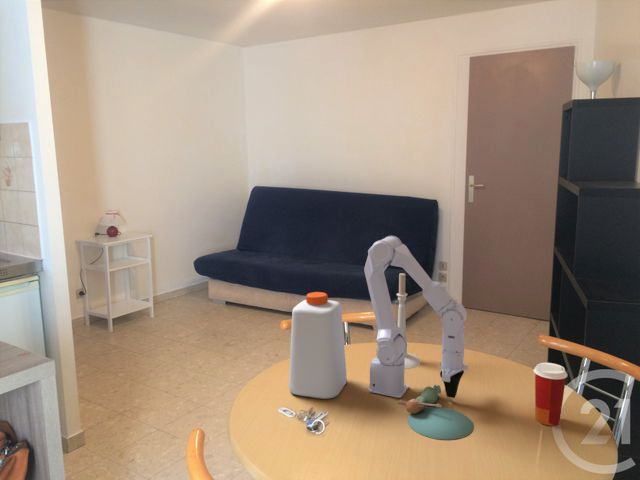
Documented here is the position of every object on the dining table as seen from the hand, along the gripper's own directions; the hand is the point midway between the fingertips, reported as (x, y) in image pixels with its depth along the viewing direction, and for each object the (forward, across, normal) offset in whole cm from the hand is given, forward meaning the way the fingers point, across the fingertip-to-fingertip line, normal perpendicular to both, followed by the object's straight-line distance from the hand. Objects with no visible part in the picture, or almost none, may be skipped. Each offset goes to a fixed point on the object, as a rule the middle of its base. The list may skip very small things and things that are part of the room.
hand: (451, 396), depth 143 cm
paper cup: (+2, +1, -24) cm, 24 cm away
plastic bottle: (+2, -8, +37) cm, 38 cm away
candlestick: (+2, +20, +21) cm, 29 cm away
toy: (0, +2, +4) cm, 4 cm away
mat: (+2, -12, 0) cm, 13 cm away
